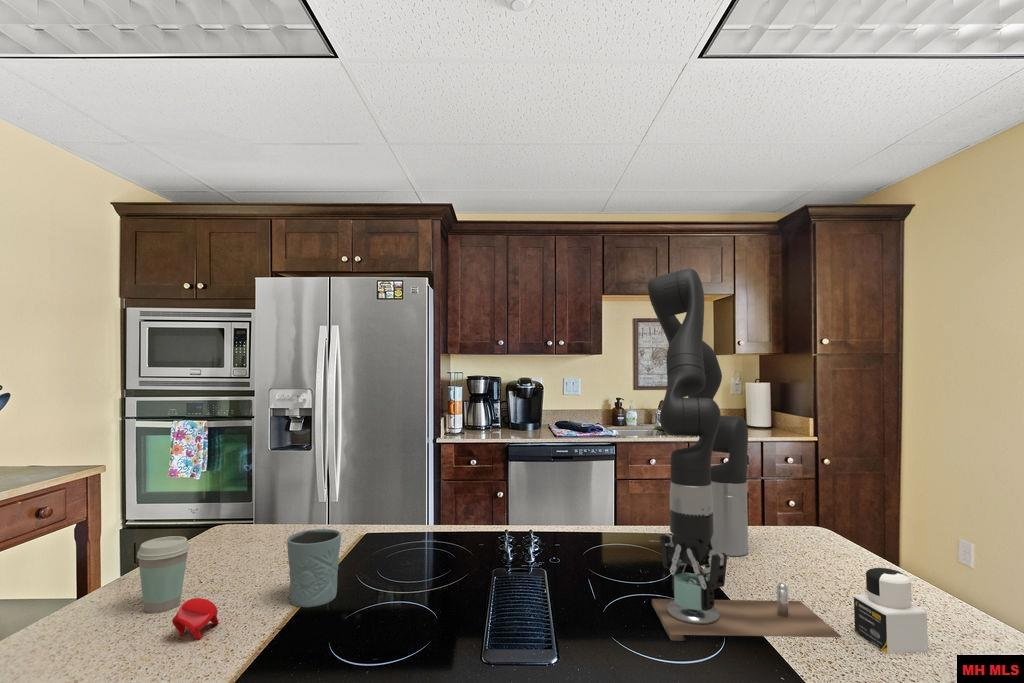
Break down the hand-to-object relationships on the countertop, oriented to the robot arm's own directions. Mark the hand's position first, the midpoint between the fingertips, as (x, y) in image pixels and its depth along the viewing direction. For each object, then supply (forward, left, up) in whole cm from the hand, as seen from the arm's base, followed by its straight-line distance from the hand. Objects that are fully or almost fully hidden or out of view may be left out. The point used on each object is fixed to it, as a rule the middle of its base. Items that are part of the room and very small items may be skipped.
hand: (692, 601), depth 98 cm
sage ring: (0, 0, 0) cm, 0 cm away
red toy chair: (+8, -86, -3) cm, 87 cm away
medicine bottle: (+9, +29, -3) cm, 31 cm away
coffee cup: (-2, -99, -3) cm, 99 cm away
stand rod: (0, +16, -3) cm, 16 cm away
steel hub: (0, 0, -3) cm, 3 cm away
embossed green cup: (-7, -72, -3) cm, 72 cm away
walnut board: (+1, +8, -3) cm, 9 cm away
